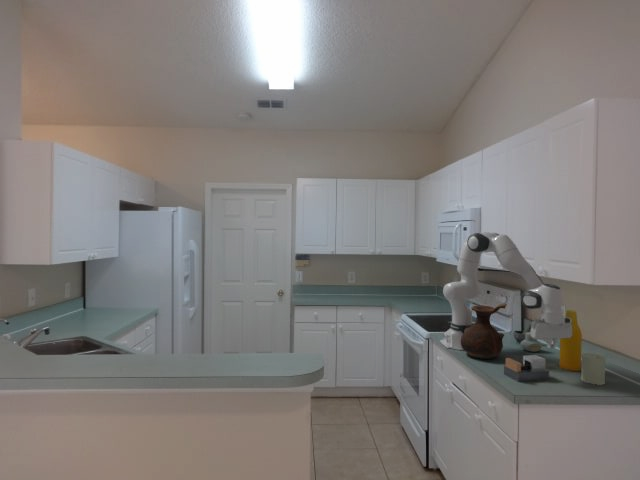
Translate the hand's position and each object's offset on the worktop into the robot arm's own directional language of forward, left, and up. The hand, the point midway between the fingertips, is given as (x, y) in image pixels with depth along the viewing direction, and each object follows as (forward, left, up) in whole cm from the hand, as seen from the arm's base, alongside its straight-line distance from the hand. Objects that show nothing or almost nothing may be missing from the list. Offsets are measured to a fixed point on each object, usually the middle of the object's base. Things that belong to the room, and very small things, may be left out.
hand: (551, 347), depth 189 cm
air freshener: (-38, +21, -14) cm, 46 cm away
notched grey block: (0, -9, -9) cm, 13 cm away
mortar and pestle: (-52, +27, -14) cm, 60 cm away
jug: (-33, -14, -13) cm, 39 cm away
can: (+10, +14, -14) cm, 22 cm away
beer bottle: (-7, +18, -13) cm, 24 cm away
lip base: (0, -13, -13) cm, 19 cm away
